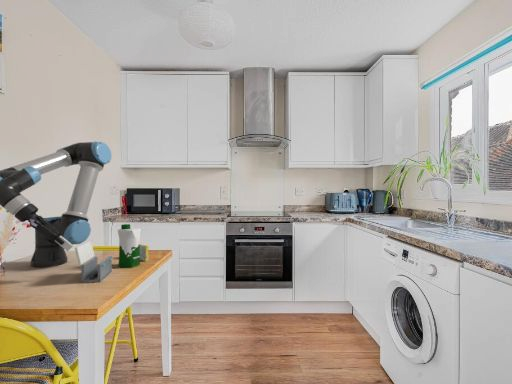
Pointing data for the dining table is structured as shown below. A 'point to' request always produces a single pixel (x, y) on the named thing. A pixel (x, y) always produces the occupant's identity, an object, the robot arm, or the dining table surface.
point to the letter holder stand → (95, 270)
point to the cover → (84, 252)
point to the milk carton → (129, 246)
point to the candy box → (144, 252)
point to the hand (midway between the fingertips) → (70, 248)
